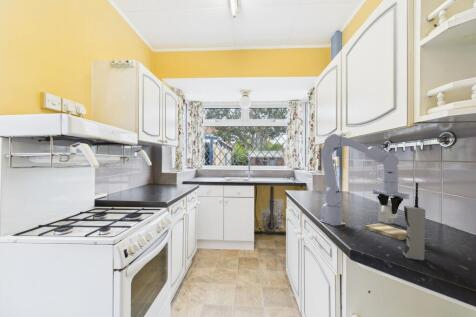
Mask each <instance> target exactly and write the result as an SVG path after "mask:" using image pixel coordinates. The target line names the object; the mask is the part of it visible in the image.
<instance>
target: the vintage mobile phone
mask: <svg viewBox="0 0 476 317" xmlns="http://www.w3.org/2000/svg"><path fill="white" fill-rule="evenodd" d="M403 212H404V221H405V223H406V231H407V233H406V239H405V241H406V242H405V246H404V248H403V250H402V254H403V255H404V256H405V258H406V259H410V260H411V259H412V260H418V261H425V248H426V247H425V245H426V244H425V241H426V240H425V239H426V209H425V208H423V207H421V206H419V182H415V196H414V206H412V205H403Z"/></svg>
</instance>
